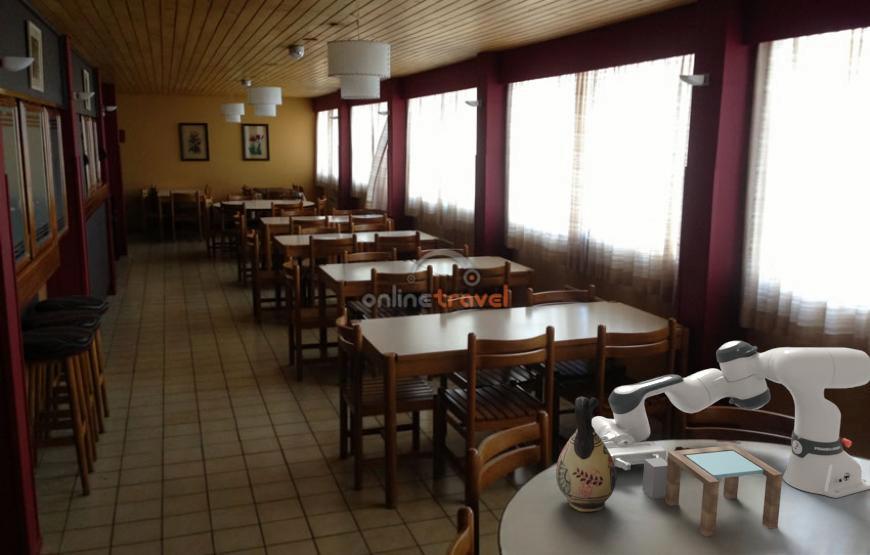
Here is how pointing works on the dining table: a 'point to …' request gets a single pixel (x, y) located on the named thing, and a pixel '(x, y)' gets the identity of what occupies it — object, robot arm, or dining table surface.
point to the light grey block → (655, 477)
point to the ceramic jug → (586, 463)
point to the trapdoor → (725, 464)
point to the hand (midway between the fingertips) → (643, 465)
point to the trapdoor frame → (712, 486)
